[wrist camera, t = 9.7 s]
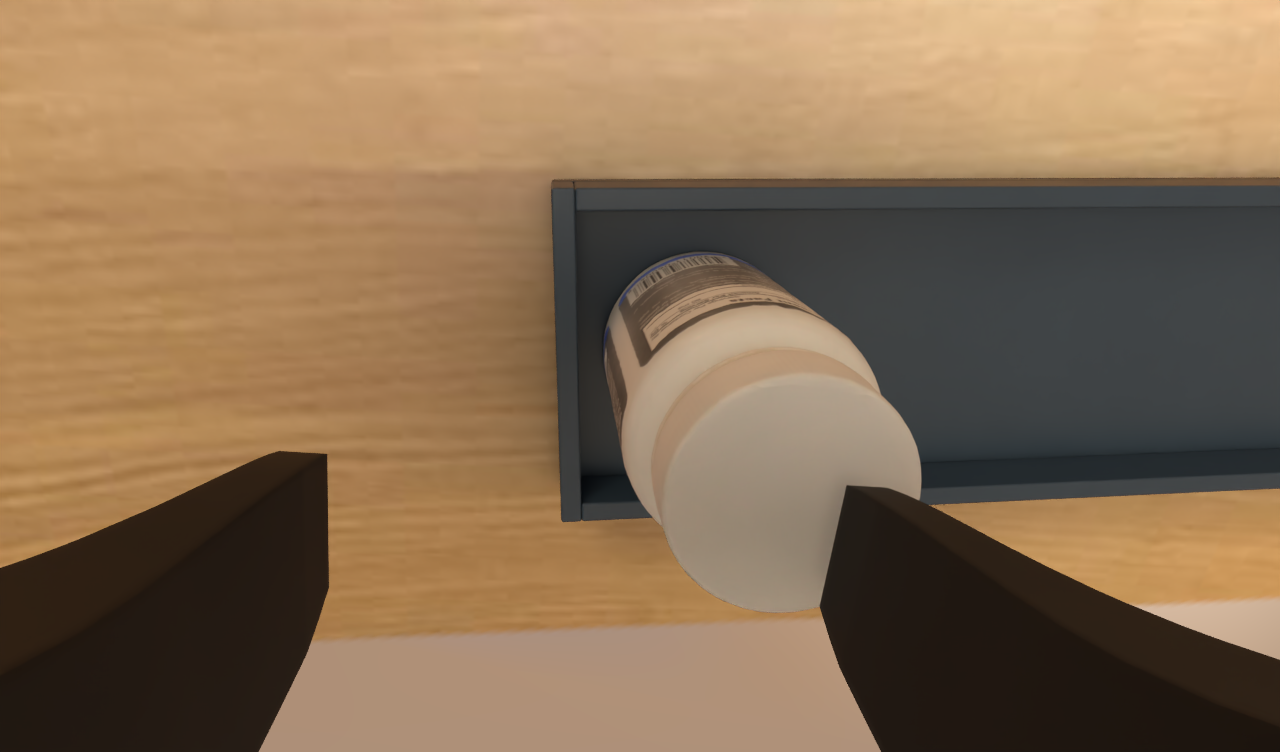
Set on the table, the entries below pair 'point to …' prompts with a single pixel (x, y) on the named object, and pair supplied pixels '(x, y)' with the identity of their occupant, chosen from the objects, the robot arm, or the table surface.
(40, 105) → the table surface
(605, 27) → the table surface
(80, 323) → the table surface
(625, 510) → the tray
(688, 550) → the pill bottle
